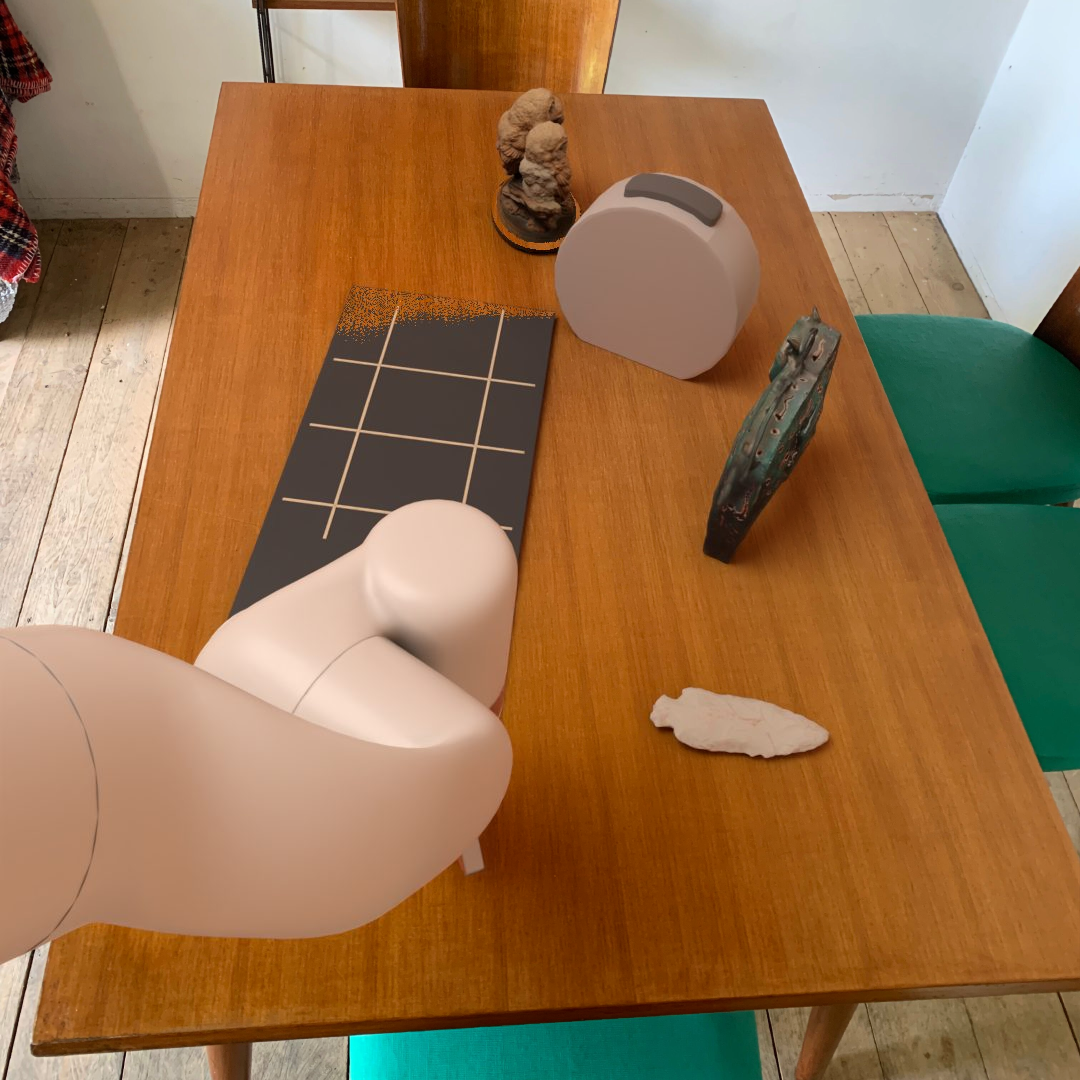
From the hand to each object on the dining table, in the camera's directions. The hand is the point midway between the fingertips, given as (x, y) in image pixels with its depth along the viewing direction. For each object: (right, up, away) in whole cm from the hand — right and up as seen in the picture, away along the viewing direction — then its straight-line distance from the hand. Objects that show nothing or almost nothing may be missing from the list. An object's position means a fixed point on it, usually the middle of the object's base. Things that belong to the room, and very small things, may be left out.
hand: (437, 808), depth 65 cm
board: (-6, +25, +26) cm, 36 cm away
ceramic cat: (+29, +23, +28) cm, 47 cm away
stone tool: (+24, +3, +12) cm, 27 cm away
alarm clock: (+19, +42, +42) cm, 62 cm away
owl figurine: (+7, +61, +55) cm, 82 cm away
